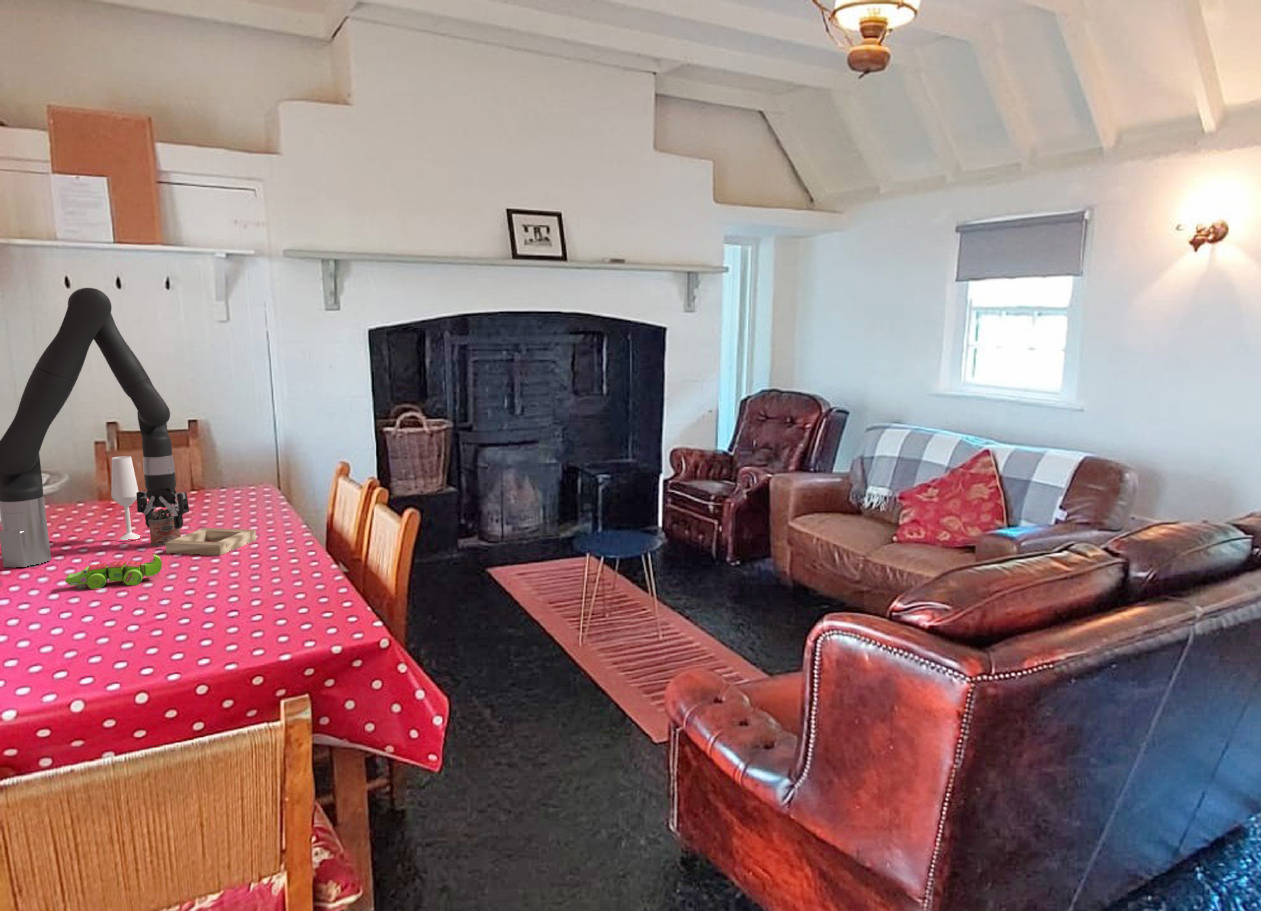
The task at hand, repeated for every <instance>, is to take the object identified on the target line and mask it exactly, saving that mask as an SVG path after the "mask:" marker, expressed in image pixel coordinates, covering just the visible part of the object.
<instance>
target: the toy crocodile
mask: <svg viewBox="0 0 1261 911" xmlns="http://www.w3.org/2000/svg"><path fill="white" fill-rule="evenodd" d="M152 557H153V559H152V561H150V562H144V563H142V562H141V561H135V560H130V561H129V562H128V563H127V562H126V561H125V560H120V561H119V560H118V561H113V562H112V563H111V562H110V564H109V565H108V564H107V563H106V562H103V563H97V564H91V565H90V566H85V568H84V569H83V570H80V571H78V572H75V573H69V574H68V575H67V576H66V577H65V580H64V581H65V583H66V584H68V585H69V586H70V587H71V586H81V585H87V587H88V588H89V589H91V590H96V589H95V588H101V589H102V588H104V587H105V585H106V584H107V582H108V581H109V582H110V583H111V582H124V584H125V585H126V586H129V585H135V586H138V585H140V584H141V582H142V580H143V578H144V577H146V578H148V577H152V576H155V575H157V574H159V573H160V572H161V570H162V567H163V563H162V560H161V557H160V556H159V555H157V554H152Z"/></svg>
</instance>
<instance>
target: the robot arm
mask: <svg viewBox="0 0 1261 911" xmlns="http://www.w3.org/2000/svg"><path fill="white" fill-rule="evenodd" d="M112 309H113V308H112V303H111V300H110V297H108V295H106V293H104V292H103V291H102V290H99V289H98V288H93V287H81V288H78V289H77V290H75V291H73V292H72V293H71V294H70V296H69V297H68V300H67V307H66V312H65V314H64V318H63V320H62V323H61V325H60V326H59V329H58V332H57V333H56V335H55V336H54V338H53V339H52V340H51V342H50V343H49V345H48V346H47V347H46V349H45V350H44V351H43V352H42V354H41V356H40V357H39V359H38V360H37V362H36V364H35V366H34V368H33V369H32V371H31V373H30V375H29V378H28V380H27V382H26V385H25V388H24V390H23V393H22V395H21V398H20V402H19V404H18V408H17V410H16V412H15V413H16V414H15V416H14V418H13V419H12V421H11V423H10V424H9V427H8V428H7V430H6V432H5V433H4V434H3V435H2V437H1V439H0V520H1V528H2V529H1V530H0V550H1V558H2V565H3V566H2V567H3V568H16V567H26V568H28V567H27V566H29V567H31V566H30V565H34V564H39V565H42V564H41V563H43V562H46V563H48V562H47V561H49V560H50V561H51V560H52V554H51V546H50V540H49V538H50V536H49V531H48V530H49V529H48V521H47V514H46V505H45V497H44V496H45V495H44V488H43V487H44V486H43V475H42V466H41V458H40V451H41V447H42V445H43V443H44V440H45V437H46V434H47V432H48V430H49V428H50V426H51V425H52V423H53V421H55V419H56V417H57V416H58V414H59V413H60V411H61V410H62V408H63V407H64V405H65V404H66V402H67V400H68V398H69V396H70V395H71V393H72V391H73V389H74V387H75V385H76V384H77V381H78V379H79V376H80V375H81V374H80V373H81V371H82V369H83V366H84V365H85V364H84V363H85V360H86V358H87V354H88V351H89V349H90V346H91V344H92V343H93V341H94V342H95V344H96V345H97V347H98V348H99V350H100V352H101V353H102V355H103V357H104V359H105V361H106V363H107V365H108V366H109V369H110V370H111V372H112V374H113V375H114V377H115V378H116V381H117V382H118V383H119V386H120V387H121V388H122V391H123V392H124V393H125V395H126V396H127V397H128V398H130V400H131V401H132V403H133V405H134V407H135V409H136V410H137V420H138V427H139V431H140V436H141V445H142V457H143V460H142V469H143V477H144V479H143V480H144V487H145V489H146V490H147V491H146V490H145V489H144V490H140V491H139V492H137V499H136V507H137V508H136V509H137V510H136V512H138V514H139V513H141V514H143V515H144V518H145V519H144V520H145V526H146V527H147V528H148V529H150V527H149V523H148V520H150V519H154V518H153V516H152V512H155V510H156V508H162V509H163V508H165V509H168V510H170V511H171V512H172V513H171V514H172V515H174V527H175V529H179V528H180V529H181V528H183V526H184V517H183V515H184V514H186V513H190V506H189V501H188V500H189V499H188V494H187V492H186V491H182V492H177V490H176V487H177V480H176V479H177V478H176V468H175V467H176V466H175V460H174V457H173V448H172V441H171V440H172V439H171V437H170V435H169V433H168V421H169V420H170V417H171V411H170V408H169V406H168V404H167V402H166V401H165V400H164V398H163V397H162V396H161V394H160V393H159V392H158V390H157V388H155V386H154V385H153V383H152V381H151V379H150V377H149V375H148V373H147V372H146V370H145V369H144V367H143V365H142V363H141V362H140V360H139V358H138V357H137V356H136V355H135V353H134V352H133V350H132V348H131V347H130V346H129V345H128V343H127V341H125V338H124V337H123V336H122V334H121V332H120V330H119V328H118V327H117V324H116V322H115V320H114V317H113V315H112ZM50 561H49V562H50ZM43 564H44V563H43Z"/></svg>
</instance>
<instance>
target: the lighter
mask: <svg viewBox="0 0 1261 911" xmlns="http://www.w3.org/2000/svg"><path fill="white" fill-rule="evenodd" d="M152 516H153V518H154V519H150V520H148V523H149V527H150V528H149V535H150V537H149V538H150V547H151V546H158V547H161V546H160V545H164V544H165V543H166V542H168V541H171V540H174V539H176V538H179V537H182V535H181V528H179V529H175V527H174V514H173V513H172V512H171V511H170V510H168V509H167V508H165V509H163V508H159V509H158V510H156V511H154V512H152ZM164 546H165V545H164Z"/></svg>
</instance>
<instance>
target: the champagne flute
mask: <svg viewBox="0 0 1261 911" xmlns="http://www.w3.org/2000/svg"><path fill="white" fill-rule="evenodd" d="M137 482H138V481H137V477H136V473H135V470H134V464H133V459H132V456H130V455H122V456H121V455H120V456H114V457H111V488H110V489H111V490H110V491H111V498H112V500H113V501H114V502H115V503H117V504H118V505H120V506H121V507H123V510H124V517H125V527H126V533H124V534H123V535H122V536H120V537H118V539H121V540H128V539H138V538H140V536H141V535H139V534H137V533H135V532H132V522H131V514H130V513H131V512H130V506H132V505H133V504H134V503H135V501H137V492H140V491H139V487H138V483H137Z"/></svg>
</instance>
